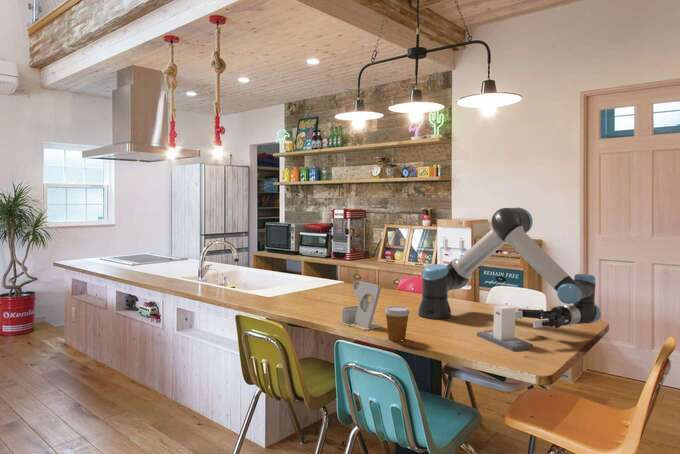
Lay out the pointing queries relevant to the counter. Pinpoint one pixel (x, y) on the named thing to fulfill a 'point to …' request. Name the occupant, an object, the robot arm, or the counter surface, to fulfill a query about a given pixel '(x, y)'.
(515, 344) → the power strip
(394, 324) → the disposable coffee cup
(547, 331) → the counter surface
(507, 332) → the block
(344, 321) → the phone holder
